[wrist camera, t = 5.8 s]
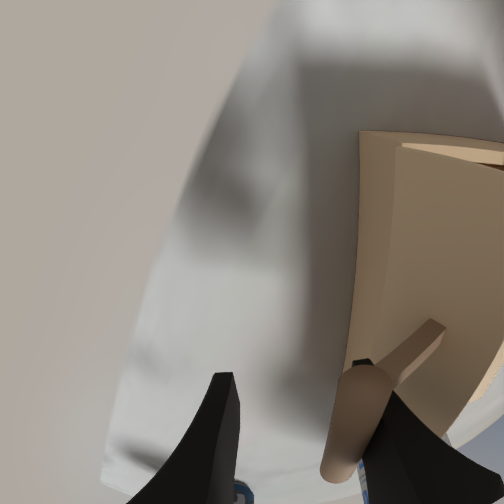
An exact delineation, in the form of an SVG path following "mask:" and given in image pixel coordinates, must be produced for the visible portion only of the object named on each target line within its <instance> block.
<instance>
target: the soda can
mask: <svg viewBox="0 0 504 504" xmlns="http://www.w3.org/2000/svg"><path fill="white" fill-rule="evenodd" d="M234 504H254V495H253V493H252V491H251V490H250V488H249V487H248V486H247V485H245V484H243V483H239V482H234Z"/></svg>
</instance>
